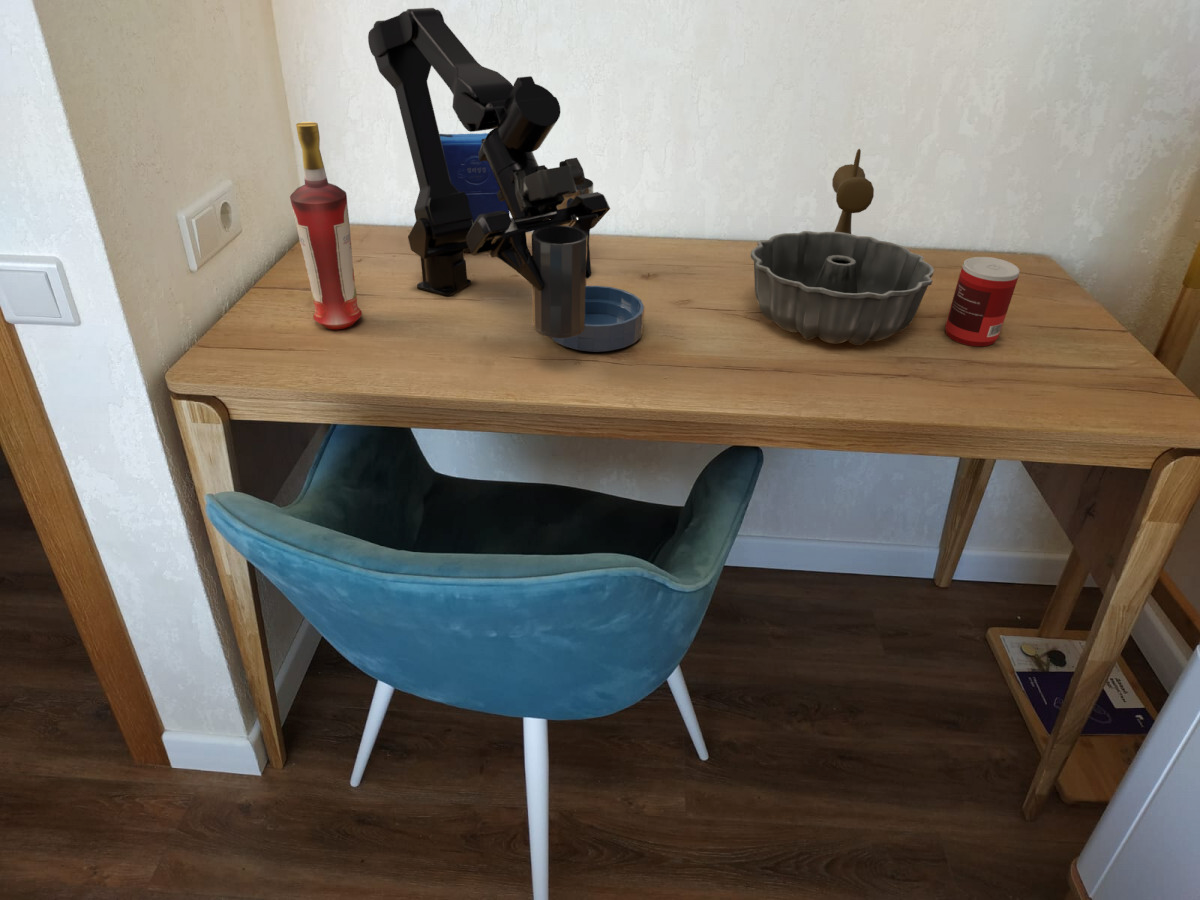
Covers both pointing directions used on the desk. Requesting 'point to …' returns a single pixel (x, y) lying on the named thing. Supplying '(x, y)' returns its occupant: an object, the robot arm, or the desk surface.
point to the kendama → (851, 192)
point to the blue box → (472, 173)
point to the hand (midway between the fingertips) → (565, 283)
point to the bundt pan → (838, 285)
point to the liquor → (325, 237)
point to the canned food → (981, 300)
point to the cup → (560, 281)
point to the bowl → (608, 321)
